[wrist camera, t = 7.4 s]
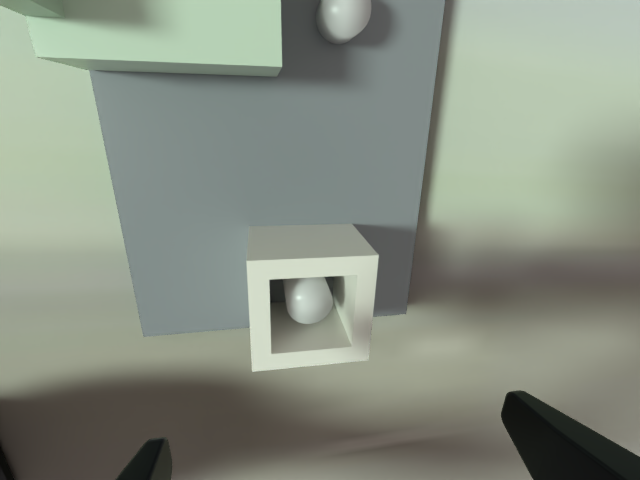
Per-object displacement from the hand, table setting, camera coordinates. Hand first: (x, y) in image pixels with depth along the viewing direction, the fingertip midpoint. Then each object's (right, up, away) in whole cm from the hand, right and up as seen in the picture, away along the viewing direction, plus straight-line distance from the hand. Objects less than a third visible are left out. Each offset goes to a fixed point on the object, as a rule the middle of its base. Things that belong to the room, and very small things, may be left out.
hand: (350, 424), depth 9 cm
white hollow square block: (-2, +3, +8) cm, 9 cm away
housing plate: (-3, +10, +7) cm, 12 cm away
